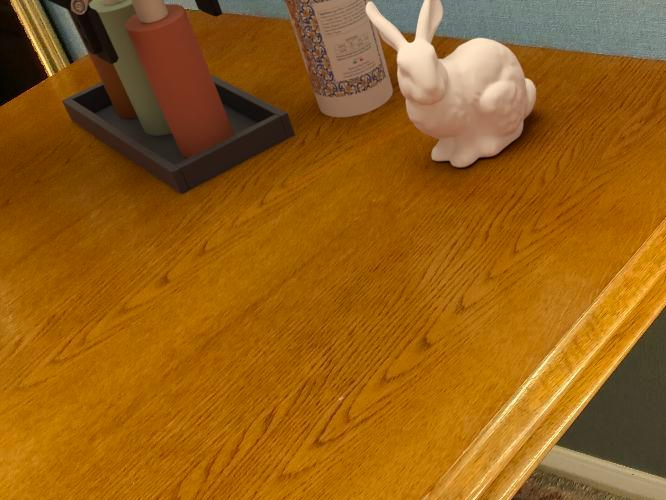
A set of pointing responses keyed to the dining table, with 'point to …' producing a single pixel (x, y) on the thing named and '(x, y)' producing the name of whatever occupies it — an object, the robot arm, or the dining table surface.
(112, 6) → the sage bottle
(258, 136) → the tray
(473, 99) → the rabbit
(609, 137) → the dining table surface
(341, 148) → the dining table surface
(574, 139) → the dining table surface
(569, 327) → the dining table surface
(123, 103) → the amber bottle
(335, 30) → the bath foam
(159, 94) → the terracotta bottle
